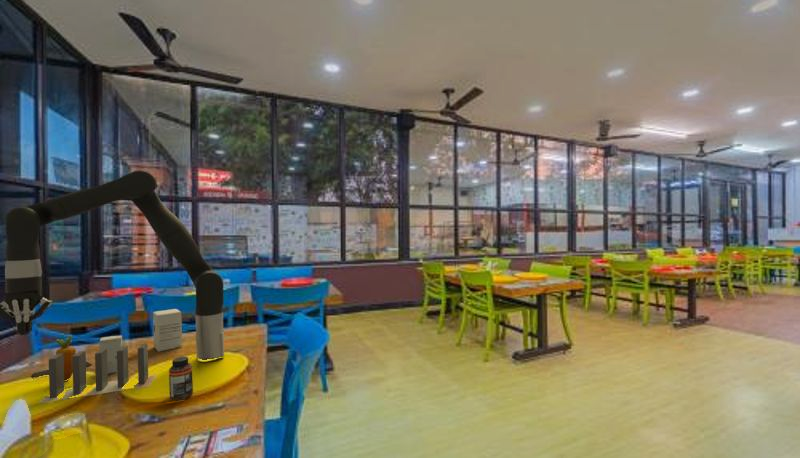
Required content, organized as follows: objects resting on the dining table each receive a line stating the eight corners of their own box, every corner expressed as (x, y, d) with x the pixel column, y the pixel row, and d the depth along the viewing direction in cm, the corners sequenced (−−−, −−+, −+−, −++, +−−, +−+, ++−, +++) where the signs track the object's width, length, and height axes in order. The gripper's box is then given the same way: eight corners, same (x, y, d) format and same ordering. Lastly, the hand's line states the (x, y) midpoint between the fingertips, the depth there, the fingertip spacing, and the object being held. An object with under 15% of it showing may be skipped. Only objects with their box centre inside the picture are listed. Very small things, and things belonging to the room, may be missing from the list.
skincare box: (99, 376, 127) (98, 340, 127) (100, 372, 131) (99, 337, 131) (121, 372, 130) (121, 337, 130) (122, 368, 134) (121, 334, 134)
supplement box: (153, 347, 158) (152, 311, 158) (177, 342, 164) (176, 308, 164) (157, 352, 151) (156, 315, 151) (182, 346, 157) (181, 311, 157)
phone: (92, 364, 137) (36, 378, 125) (92, 366, 137) (36, 380, 125) (85, 360, 142) (31, 373, 129) (85, 363, 142) (31, 376, 129)
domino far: (64, 390, 115) (63, 353, 115) (56, 397, 110) (55, 358, 110) (57, 391, 114) (56, 354, 114) (49, 398, 110) (48, 359, 110)
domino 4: (148, 378, 123) (147, 343, 123) (144, 383, 119) (143, 347, 119) (142, 378, 123) (141, 344, 123) (138, 384, 118) (137, 348, 118)
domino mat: (156, 375, 126) (156, 374, 126) (149, 387, 117) (149, 385, 117) (54, 390, 116) (54, 389, 116) (37, 404, 107) (37, 403, 107)
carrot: (53, 386, 119) (52, 339, 119) (59, 380, 124) (58, 335, 124) (73, 383, 122) (72, 337, 122) (78, 377, 126) (77, 333, 126)
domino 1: (86, 387, 117) (85, 350, 117) (79, 393, 112) (78, 355, 112) (80, 388, 116) (79, 351, 116) (73, 394, 112) (72, 356, 112)
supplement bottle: (176, 392, 113) (175, 355, 113) (196, 391, 113) (195, 354, 113) (165, 402, 107) (164, 362, 107) (187, 400, 107) (186, 361, 107)
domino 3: (128, 381, 121) (127, 345, 121) (123, 387, 117) (123, 350, 117) (122, 382, 121) (121, 346, 121) (117, 388, 116) (116, 351, 116)
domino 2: (107, 384, 119) (107, 348, 119) (102, 390, 115) (101, 353, 114) (101, 385, 119) (100, 348, 118) (95, 391, 114) (94, 353, 114)
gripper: (-15, 278, 104) (-14, 341, 104) (46, 275, 109) (47, 334, 109) (1, 275, 110) (2, 334, 111) (58, 272, 116) (59, 328, 116)
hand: (25, 334), depth 110 cm, fingers closed
